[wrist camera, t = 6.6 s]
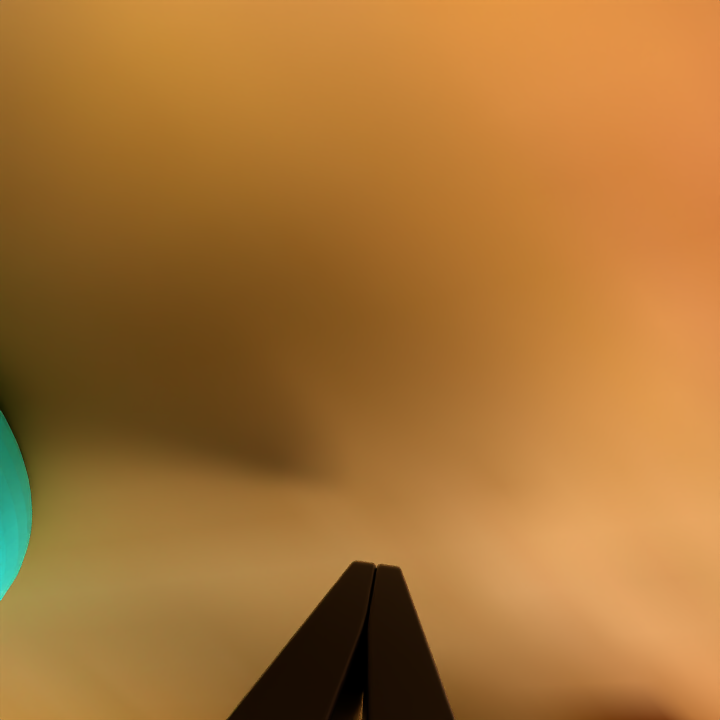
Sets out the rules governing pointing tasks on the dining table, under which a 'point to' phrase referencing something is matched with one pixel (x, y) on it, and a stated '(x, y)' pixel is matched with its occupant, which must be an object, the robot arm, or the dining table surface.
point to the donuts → (12, 507)
